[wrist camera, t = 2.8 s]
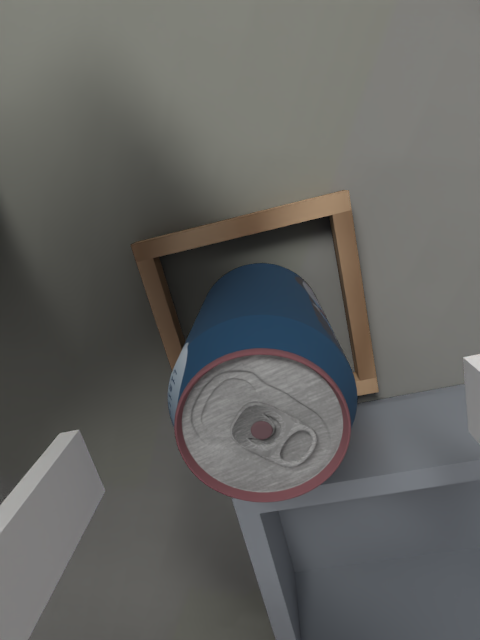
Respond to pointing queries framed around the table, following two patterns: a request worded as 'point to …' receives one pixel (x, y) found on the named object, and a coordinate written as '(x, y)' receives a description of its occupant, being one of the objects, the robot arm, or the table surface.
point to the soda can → (262, 388)
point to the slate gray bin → (379, 531)
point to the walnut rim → (257, 222)
